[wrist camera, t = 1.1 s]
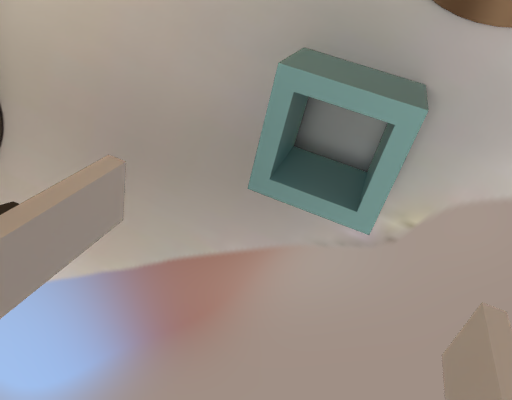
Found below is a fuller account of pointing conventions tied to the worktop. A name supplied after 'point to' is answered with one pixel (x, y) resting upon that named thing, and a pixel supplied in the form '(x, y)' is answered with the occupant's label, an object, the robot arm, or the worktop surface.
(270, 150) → the collar
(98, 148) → the worktop surface
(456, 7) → the post stand
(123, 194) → the robot arm
